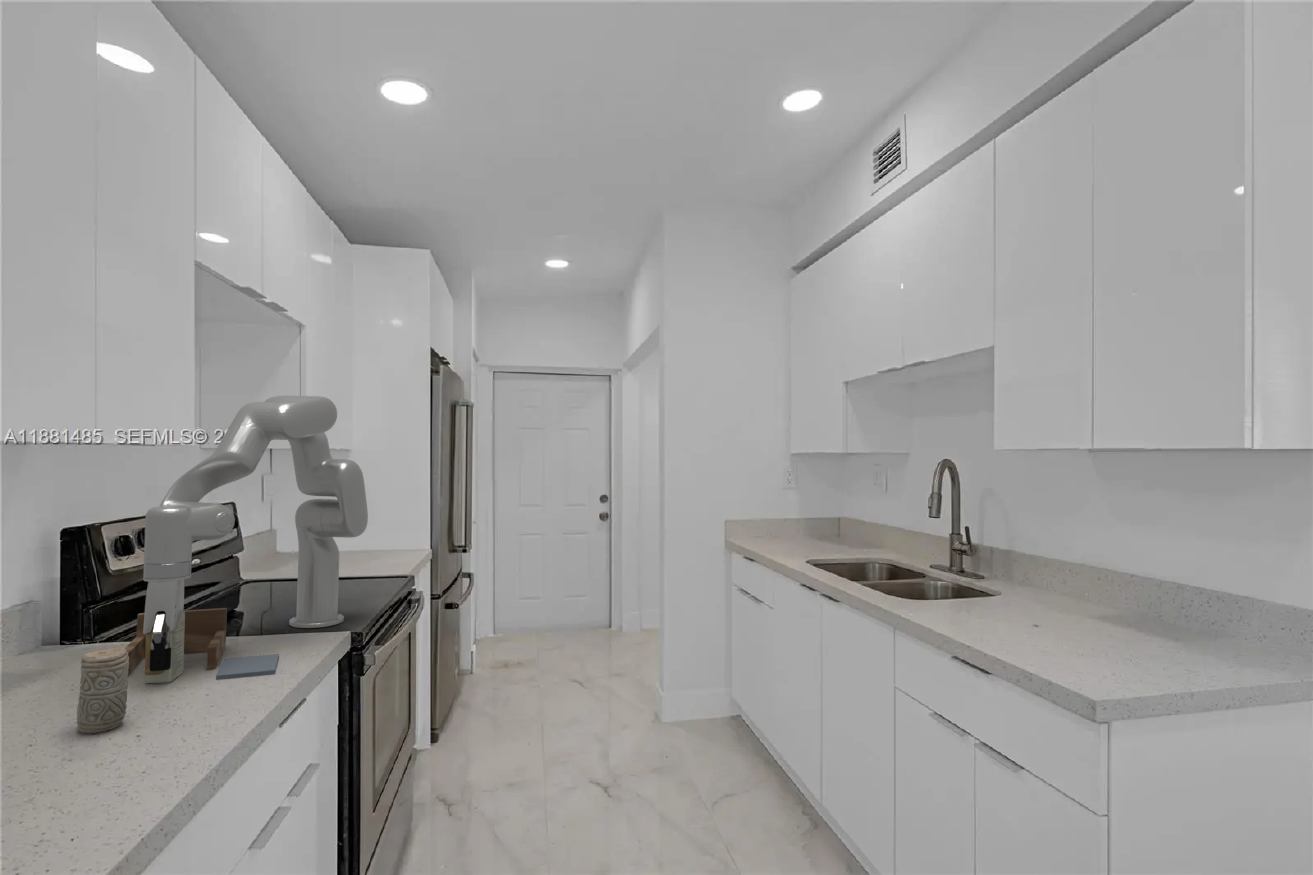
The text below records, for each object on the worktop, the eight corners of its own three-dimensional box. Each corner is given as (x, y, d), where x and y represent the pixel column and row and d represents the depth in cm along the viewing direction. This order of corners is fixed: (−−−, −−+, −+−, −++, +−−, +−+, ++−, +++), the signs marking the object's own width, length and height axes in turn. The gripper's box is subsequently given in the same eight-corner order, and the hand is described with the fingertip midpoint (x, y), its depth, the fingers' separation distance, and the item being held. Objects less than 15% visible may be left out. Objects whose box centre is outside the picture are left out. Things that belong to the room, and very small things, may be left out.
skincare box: (159, 673, 137) (161, 610, 137) (184, 672, 138) (186, 609, 138) (142, 684, 131) (145, 618, 131) (168, 683, 132) (171, 617, 132)
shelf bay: (137, 656, 149) (139, 613, 149) (225, 648, 156) (227, 607, 156) (117, 678, 135) (119, 631, 135) (215, 669, 141) (216, 624, 142)
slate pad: (224, 662, 146) (224, 658, 146) (278, 657, 150) (278, 653, 150) (215, 679, 135) (216, 675, 135) (274, 674, 139) (275, 669, 139)
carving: (80, 740, 106) (83, 660, 107) (71, 726, 112) (74, 650, 112) (131, 728, 111) (134, 652, 111) (121, 716, 116) (124, 643, 117)
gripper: (154, 564, 141) (151, 654, 141) (132, 580, 125) (128, 680, 125) (198, 563, 144) (195, 650, 144) (182, 577, 129) (179, 675, 128)
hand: (164, 663), depth 135 cm, fingers closed on skincare box, 6 cm apart
